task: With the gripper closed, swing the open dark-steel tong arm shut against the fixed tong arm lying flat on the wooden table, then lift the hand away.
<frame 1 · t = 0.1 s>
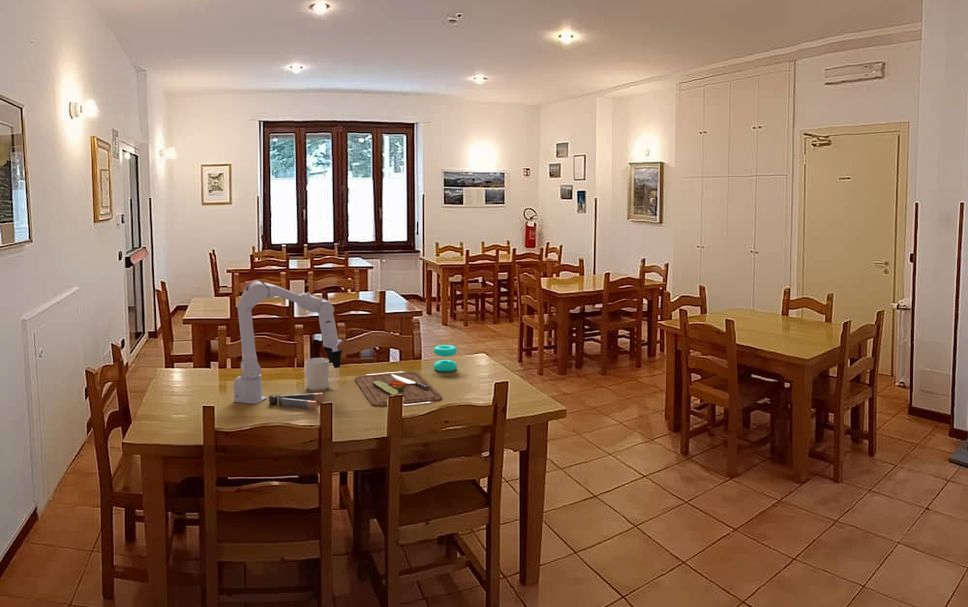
hand: (335, 365, 288), 10 cm above the table, tool pointing down, fingers open, 7 cm apart
mug: (322, 388, 294), on the table
donuts: (445, 370, 323), on the table
tong arm: (300, 398, 274), point 2 cm above the table, hinge at 30.0°
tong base: (282, 404, 273), on the table
chopping board: (396, 390, 294), on the table
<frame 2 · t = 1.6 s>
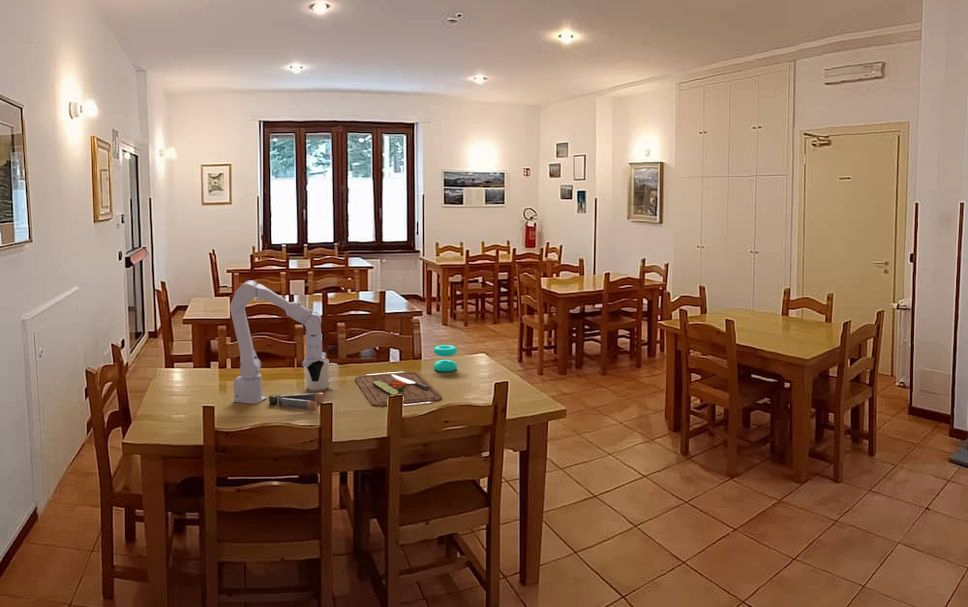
hand: (315, 381, 279), 7 cm above the table, tool pointing down, fingers closed
nothing on the table moved.
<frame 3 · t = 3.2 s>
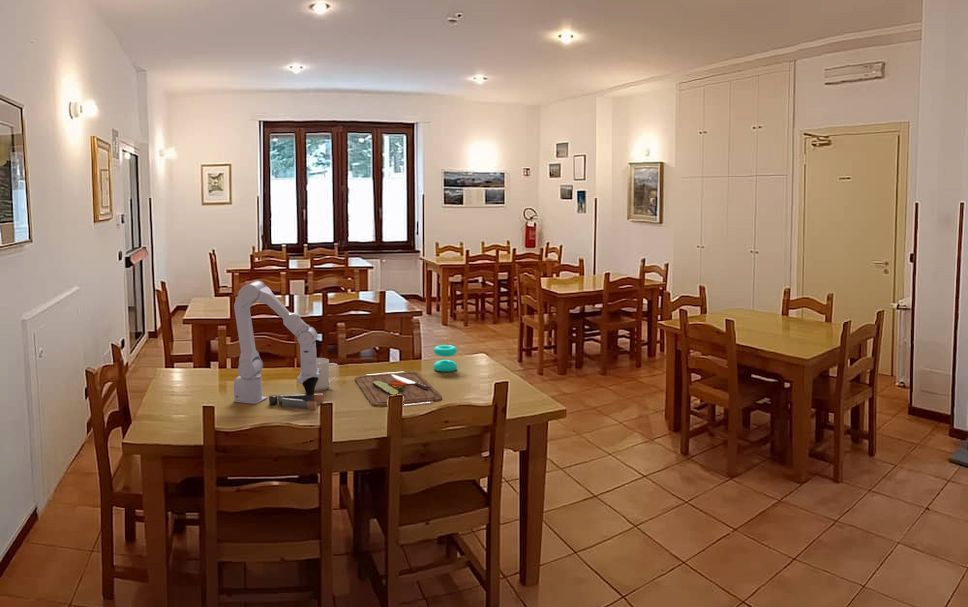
hand: (310, 397, 276), 2 cm above the table, tool pointing down, fingers closed
tong arm: (300, 398, 274), point 2 cm above the table, hinge at 25.6°, touching gripper
everything else where it was.
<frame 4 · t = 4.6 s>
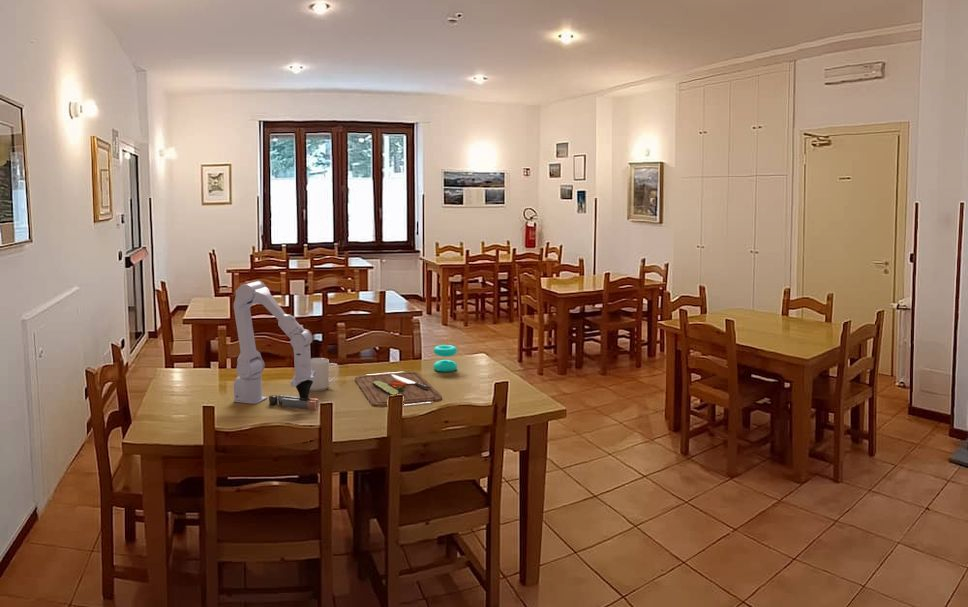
hand: (304, 400, 272), 2 cm above the table, tool pointing down, fingers closed
tong arm: (298, 401, 271), point 2 cm above the table, hinge at -0.4°, touching gripper
everything else where it was.
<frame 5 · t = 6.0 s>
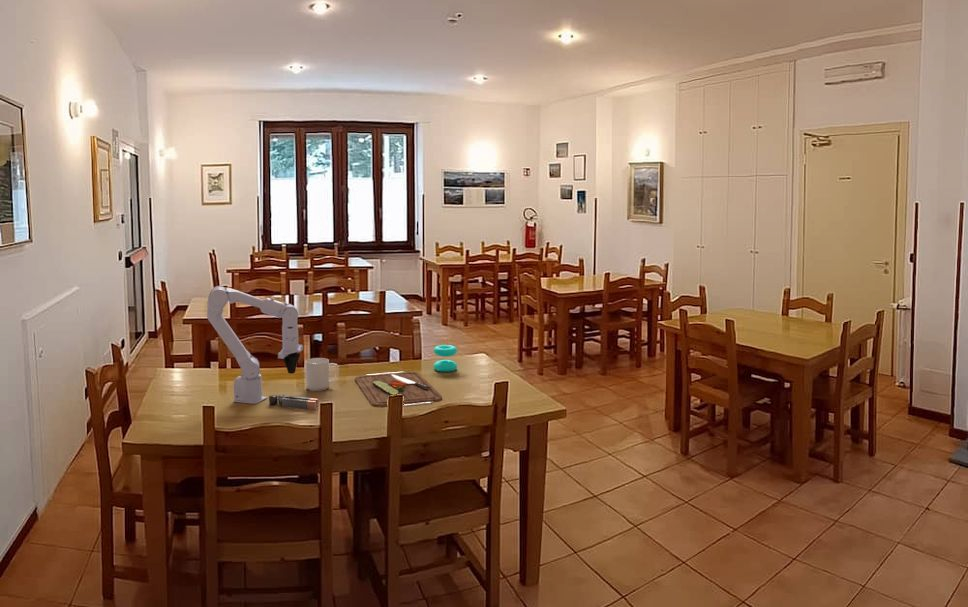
hand: (291, 373, 280), 9 cm above the table, tool pointing down, fingers closed
tong arm: (298, 401, 271), point 2 cm above the table, hinge at -0.4°
everything else where it was.
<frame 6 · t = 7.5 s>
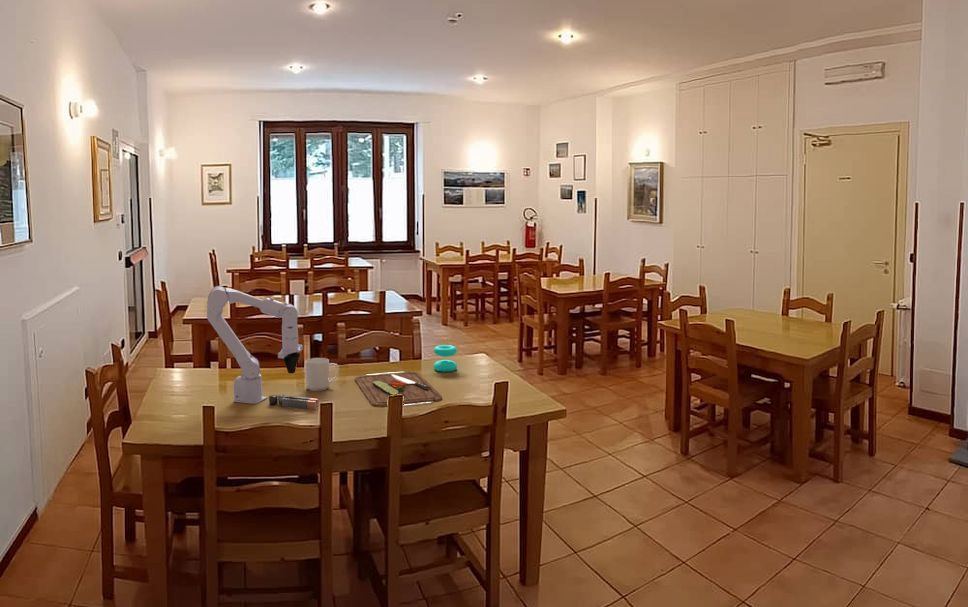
hand: (291, 372, 280), 9 cm above the table, tool pointing down, fingers closed
nothing on the table moved.
at the end: tong arm at +0° (first picture: +30°); mug moved 0.2 cm from its start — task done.
